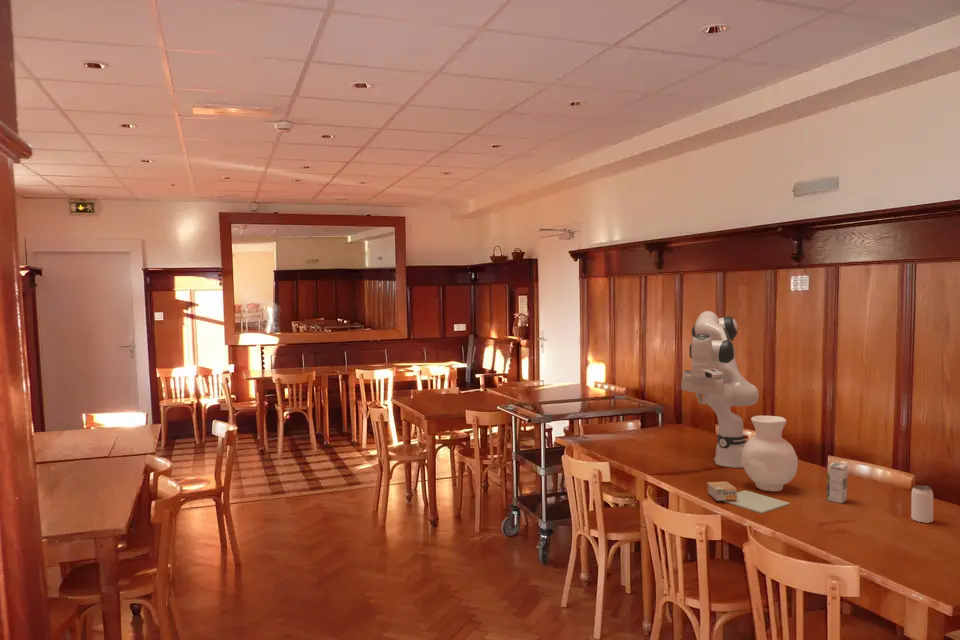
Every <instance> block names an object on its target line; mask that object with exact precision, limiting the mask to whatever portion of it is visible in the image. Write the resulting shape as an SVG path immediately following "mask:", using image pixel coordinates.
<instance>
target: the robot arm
mask: <svg viewBox="0 0 960 640" xmlns="http://www.w3.org/2000/svg"><path fill="white" fill-rule="evenodd" d="M738 330H739V327H738V323H737V320H735V318H734V317H733V316H731V315H730V316H724V317H718V316H717V314H716V313H715V312H713V311H710V310H706V311H703V312H702V313H700V314H699V315H698V317H697V318H696V320H695V324H694V326H693V327H692V328H691V338H692V340H691V343H690V345H689V358H691V360H692V361H691V364H690V367H691V368H690V369H691V370H690V369H689V370H688V369H685V370H684V371H683V372H682V379H681V384H680V385H681V386H680V387H681V390H682V391H685V392H689V393H690V392H691V393H695V396H696V398H697V403H698V404H702V405H708V406H709V407H710V408H711V409H712V410H713V411H714V413H715V415H716V417H717V418H716V419H717V427H718V433H717V436H716V437H717V438H716V439H717V442H718V443H717V444H716V448H715V457H714V458H713V461H714V464H716V465H718V466H722V467H725V468H726V467H727V468H740V469H741V468H743V469H744V466H743V464H742V461H741V458H742V457H741V453H742V450H743V448H744V445H745V444H746V443H747V441H746V440H749V439H750V436H749V435H748V434H747V435H746V434H744V420H743V418H742V417H741V416H740V415H738V414H736V413H734V412H732V410H731V407H748V406H752V405H755V404H757V403H758V401H759V399H760V392H759V389H758V388H757V387H756V385H755V384H752V383H751V382H749V381H748V380H746V378H745V377H744V376H743V375H742V374H741V372H740V370H739V367H738V363H737V360H736V359H737V357H736V355H735V354H736V349H735V345H734V343H733V342H732V341H734V339H735V337H736V336H737V335H738Z"/></svg>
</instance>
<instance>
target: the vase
mask: <svg viewBox="0 0 960 640" xmlns="http://www.w3.org/2000/svg"><path fill="white" fill-rule="evenodd" d="M750 420H751V422H752V424H753V426H754V429H755V436H753V437H750V438H748V439H747V441H746V444H745V445H744V448H743V450H742V453H741V457H742V458H741V461H742V464H743V466H744V468H743V469H744V471H745V473H746V474H747V476H748V477H749V478H750V479H751V481H752V482H753V483H754V484H755V487H756V488H757V489H759V490H761V491H765V492H781V491H782V490H783V489H784V486H785V485H786V484H787V483H790V482H792V481H793V479H794V478H795V476H796V475H797V471H798V465H799V459H798V458H799V457H798V455H797V454H796V451H795V449H794V447H793V445H792V444H791V443H790V442H788V441H787V439H785V438H783V437H782V436H783V435H782V434H783V431H784V430H783V429H784V427H785V426H786V423H787V419H786V418H784V417H783V416H777V415H776V416H775V415H755V416H752V417H751V418H750Z"/></svg>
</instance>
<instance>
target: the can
mask: <svg viewBox="0 0 960 640" xmlns="http://www.w3.org/2000/svg"><path fill="white" fill-rule="evenodd" d="M912 487H913V488H912V489H911V498H910V499H911V504H910V505H911V507H910V508H911V510H910V511H911V512H910V513H911V516H910V517H911V520H913V521H914V520H915V521H914V522H916V521H918V522H917V523H920V522H923V523H922V524H931V523H933V521H934V492H933V488H932V487H930V486H927V485H922V484H921V485H919V484H917V485H913V486H912ZM930 522H931V523H930Z"/></svg>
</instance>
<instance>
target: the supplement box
mask: <svg viewBox="0 0 960 640" xmlns="http://www.w3.org/2000/svg"><path fill="white" fill-rule="evenodd" d="M706 483H707V493H708V495H710V496H711V497H712V498H713V499H714V500H716V501H717V502H723V501H724V500H737V492H738V491H737V488H736V487H735V486H733V484H731V483H730V482H728V481H727V480H726V481H713V482H712V481H707V482H706Z"/></svg>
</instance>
